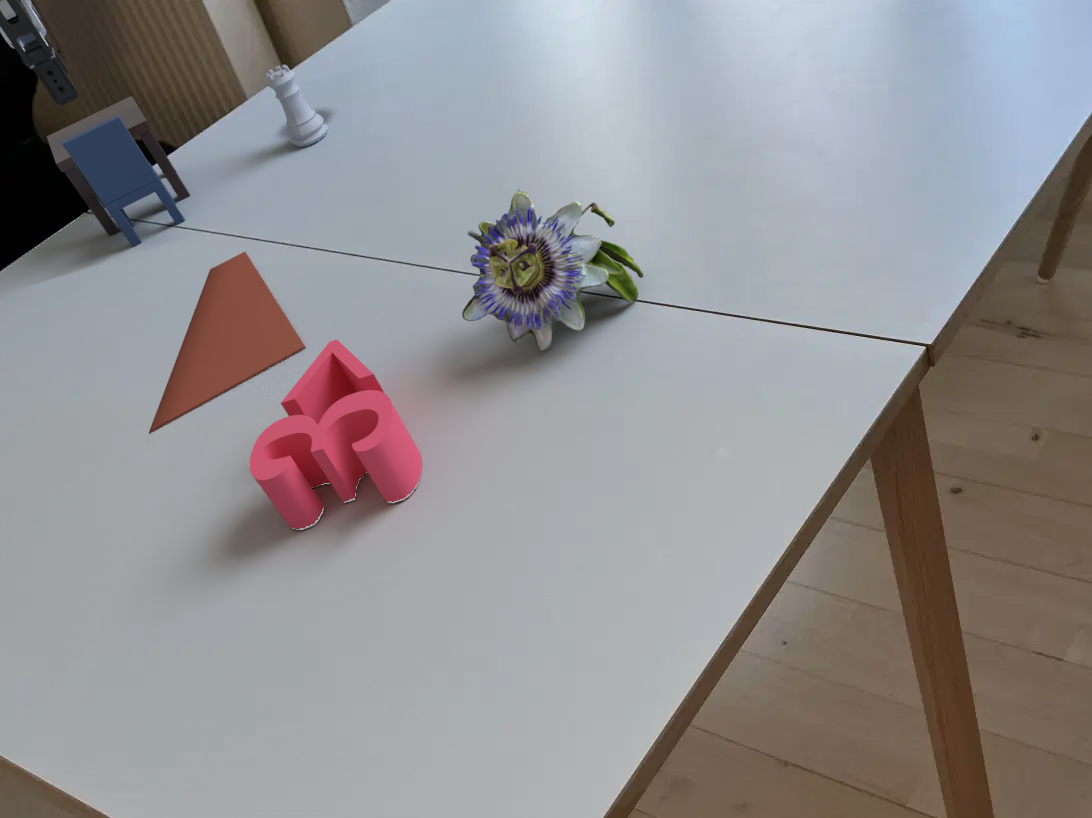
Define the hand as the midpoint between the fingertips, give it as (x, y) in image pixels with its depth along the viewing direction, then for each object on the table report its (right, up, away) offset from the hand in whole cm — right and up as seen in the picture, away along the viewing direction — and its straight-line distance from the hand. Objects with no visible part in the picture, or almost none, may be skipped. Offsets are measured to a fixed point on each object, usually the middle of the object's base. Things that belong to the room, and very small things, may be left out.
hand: (64, 89), depth 106 cm
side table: (-1, -6, +18) cm, 19 cm away
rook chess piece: (+18, +1, +18) cm, 26 cm away
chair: (+3, -10, +13) cm, 16 cm away
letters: (+35, -35, -26) cm, 56 cm away
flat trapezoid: (+16, -24, -8) cm, 30 cm away
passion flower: (+49, -25, -21) cm, 59 cm away
